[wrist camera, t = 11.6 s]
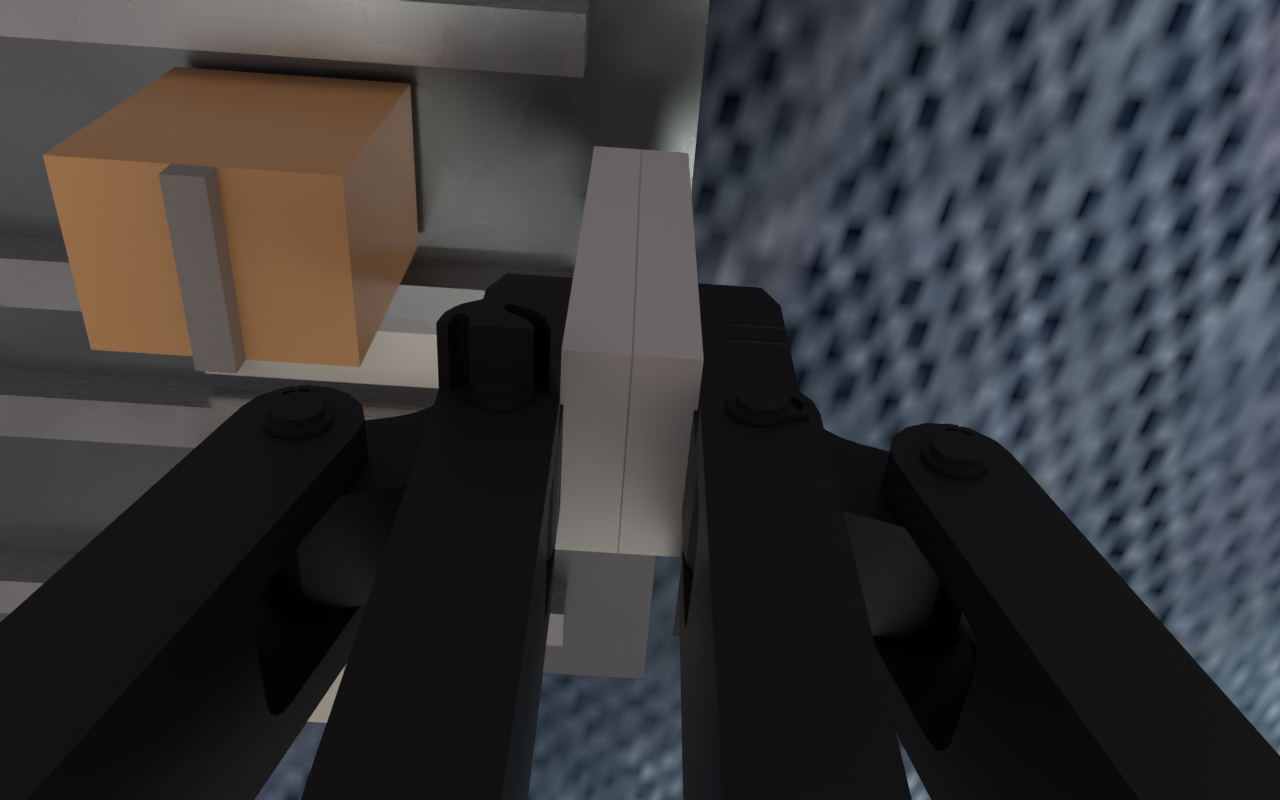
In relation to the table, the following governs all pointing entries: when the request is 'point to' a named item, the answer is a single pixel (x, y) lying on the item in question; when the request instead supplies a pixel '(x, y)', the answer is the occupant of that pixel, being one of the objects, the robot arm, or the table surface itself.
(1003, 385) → the table surface
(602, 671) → the gray ridged tray
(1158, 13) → the table surface
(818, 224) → the table surface
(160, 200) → the tan cardboard parcel
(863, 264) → the table surface
